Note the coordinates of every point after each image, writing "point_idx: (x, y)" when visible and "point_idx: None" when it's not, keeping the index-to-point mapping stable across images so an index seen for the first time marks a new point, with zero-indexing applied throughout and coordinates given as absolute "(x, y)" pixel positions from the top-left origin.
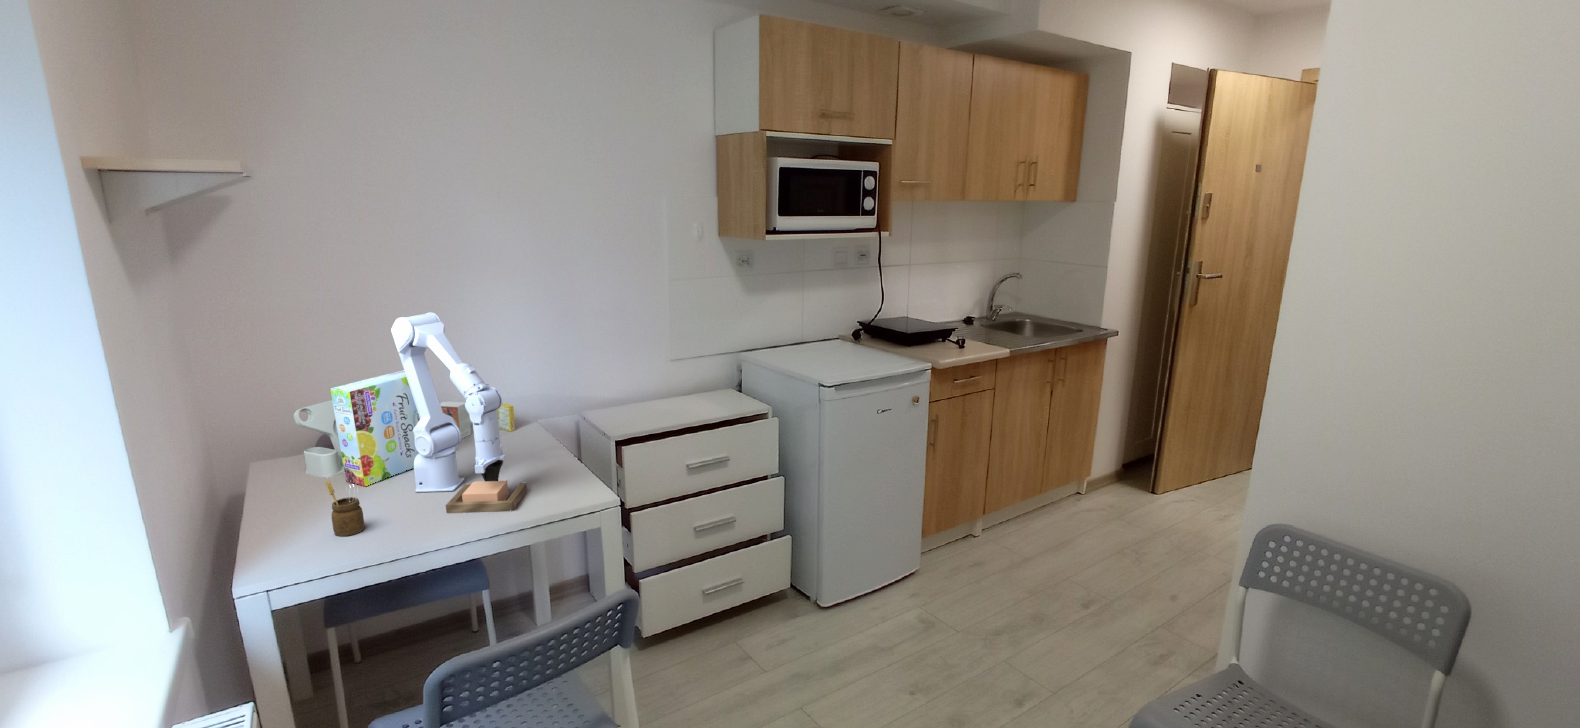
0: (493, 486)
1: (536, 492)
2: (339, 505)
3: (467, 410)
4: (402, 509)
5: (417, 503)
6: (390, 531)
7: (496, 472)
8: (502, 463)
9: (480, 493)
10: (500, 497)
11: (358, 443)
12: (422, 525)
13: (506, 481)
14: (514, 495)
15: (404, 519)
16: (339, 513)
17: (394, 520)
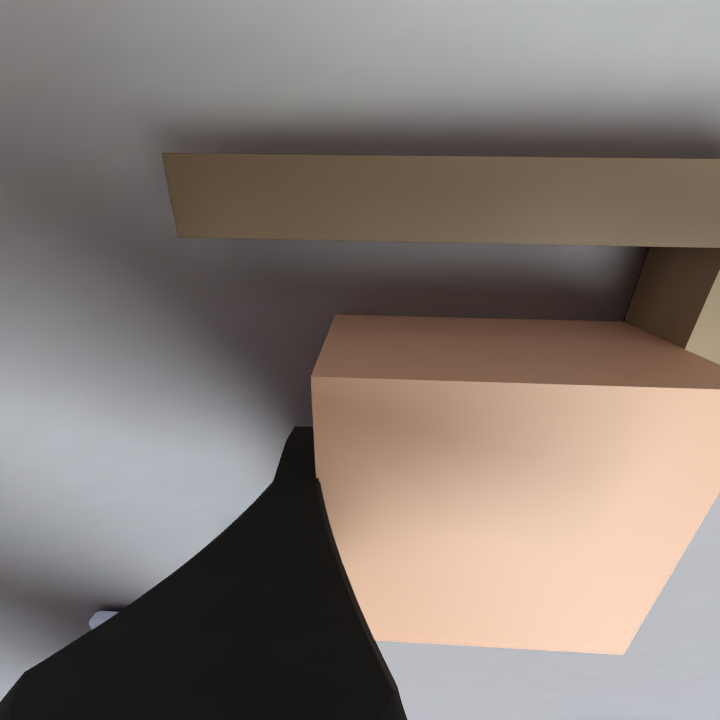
0: (490, 478)
1: (258, 17)
2: None
3: None
4: (457, 714)
5: (399, 691)
6: (699, 706)
7: (358, 605)
8: (67, 706)
9: (673, 547)
10: (587, 345)
11: None
12: (695, 637)
13: (339, 376)
14: (584, 195)
15: (578, 694)
16: None
17: (574, 714)
